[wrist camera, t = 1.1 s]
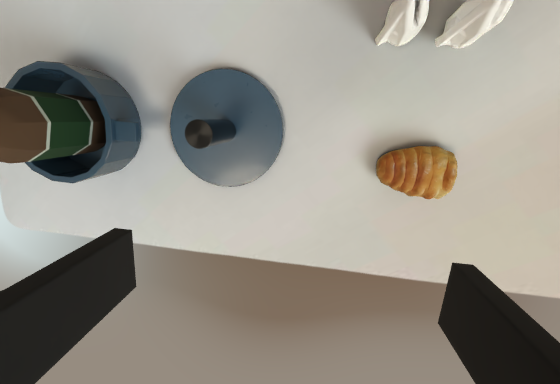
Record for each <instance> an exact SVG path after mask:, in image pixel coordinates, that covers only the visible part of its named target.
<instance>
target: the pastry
mask: <svg viewBox="0 0 560 384" xmlns="http://www.w3.org/2000/svg"><path fill="white" fill-rule="evenodd" d="M376 174H377V176H378V178H379V179H380V181H381V183H383V184H385V185H388V186H390V187H391V188H392V189H394V190H397V191H400V192H404V193H405V194H406V195H408V196H420V197H424V198H425V199H431V198H435V199H439V198H442V197H443V196H445V195H446V194H447V193H449V192H450V191H451V190H452V188H453V185H454V183H455V180H456V177H457V161H456V158H455V156H454V154H453V153H452V152H449V151H446V150H444V149H442V148H440V147H437V146H431V147H428V146H425V147H424V146H417V147H411V148H406V149H399V150H394V151H391V152H388V153H387V154H384V155H383V156H381V157H380V158H379V159H378V161H377V164H376Z"/></svg>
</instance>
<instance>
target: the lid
mask: <svg viewBox="0 0 560 384" xmlns="http://www.w3.org/2000/svg"><path fill="white" fill-rule="evenodd" d="M170 128H171V136H172V141H173V144H174V147H175V149H176V152H177V154H178V156H179V157H180V159H181V160H182V162H183V163H184V164H185V166H186V167H187V168H188V169H189V170H190V171H191V172H192V173H194V174H195V175H196V176H198V177H199V178H201V179H202V180H204V181H207V182H209V183H211V184H215V185H219V186H228V187H232V186H240V185H244V184H247V183H250V182H252V181H254V180H256V179H257V178H259V177H260V176H262V175H263V174H264V173H265V172H266V171H267V170H268V169H269V168H270V167H271V165H272V164H273V163H274V161H275V159H276V158H277V155H278V153H279V151H280V147H281V144H282V138H283V124H282V118H281V114H280V111H279V108H278V105H277V103H276V101H275V99H274V98H273V96H272V95H271V93H270V92H269V91H268V90H267V89H266V87H265V86H264V85H262V84H261V83H260V82H259V81H258V80H256V79H255V78H253V77H252V76H250V75H248V74H245V73H243V72H240V71H237V70H231V69H216V70H211V71H207V72H204V73H202V74H200V75H198V76H196V77H195V78H193V79H192V80H191V81H190V82H188V83H187V84H186V85H185V87H184V88H183V89H182V90H181V92H180V93H179V95H178V96H177V98H176V101H175V103H174V106H173V109H172V113H171V122H170Z"/></svg>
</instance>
